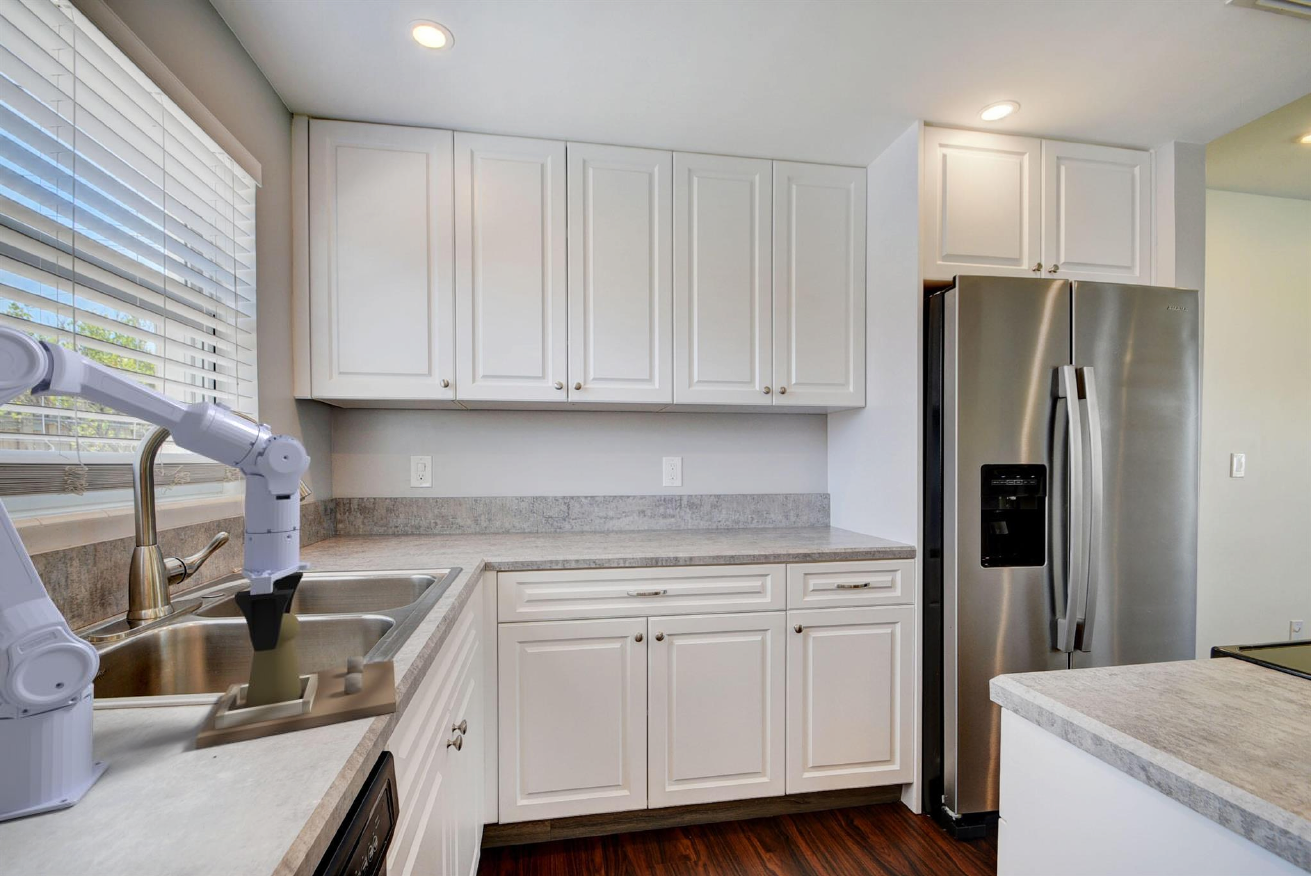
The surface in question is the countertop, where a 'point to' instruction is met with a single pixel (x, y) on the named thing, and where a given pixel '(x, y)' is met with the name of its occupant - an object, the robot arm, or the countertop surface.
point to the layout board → (305, 704)
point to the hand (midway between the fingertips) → (271, 640)
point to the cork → (276, 669)
